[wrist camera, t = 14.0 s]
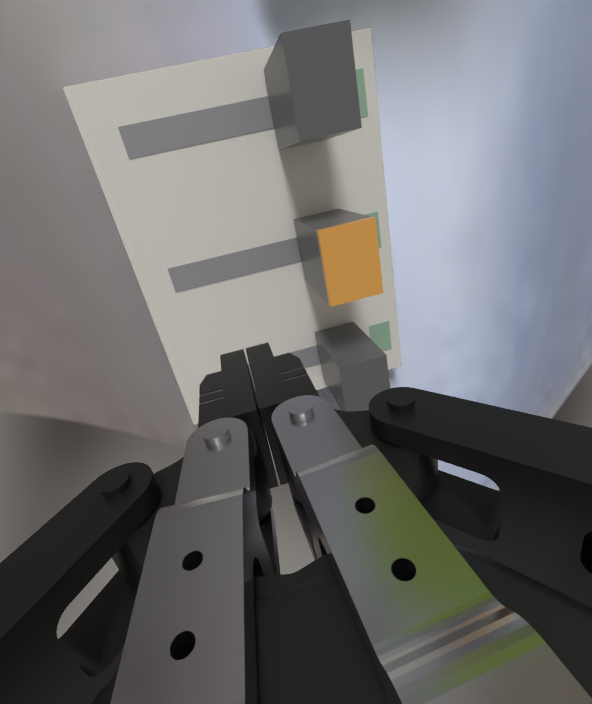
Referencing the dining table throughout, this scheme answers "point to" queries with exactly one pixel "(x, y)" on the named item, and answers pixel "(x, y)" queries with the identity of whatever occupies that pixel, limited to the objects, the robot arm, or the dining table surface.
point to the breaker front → (313, 85)
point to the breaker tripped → (340, 255)
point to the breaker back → (352, 366)
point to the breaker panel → (232, 208)
